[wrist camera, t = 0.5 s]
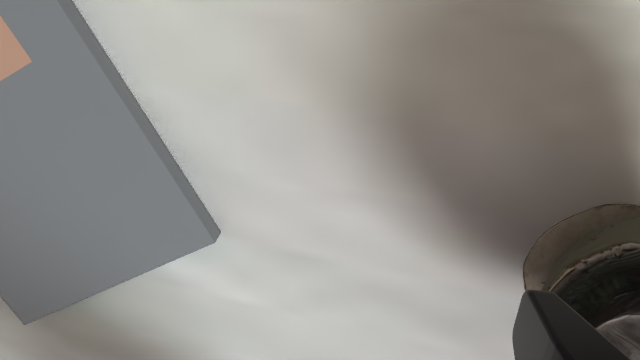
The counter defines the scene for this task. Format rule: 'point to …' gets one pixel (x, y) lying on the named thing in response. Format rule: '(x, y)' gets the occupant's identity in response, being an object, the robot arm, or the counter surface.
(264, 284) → the counter surface
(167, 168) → the slate board
